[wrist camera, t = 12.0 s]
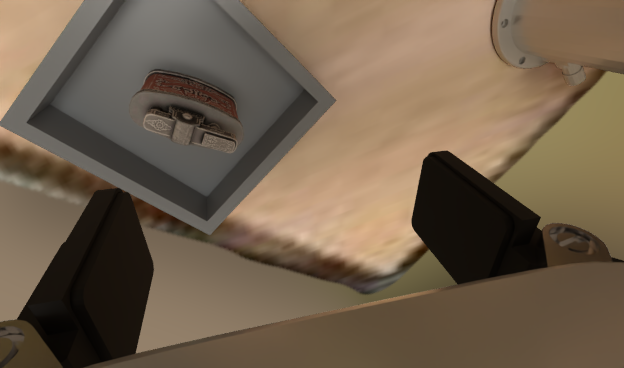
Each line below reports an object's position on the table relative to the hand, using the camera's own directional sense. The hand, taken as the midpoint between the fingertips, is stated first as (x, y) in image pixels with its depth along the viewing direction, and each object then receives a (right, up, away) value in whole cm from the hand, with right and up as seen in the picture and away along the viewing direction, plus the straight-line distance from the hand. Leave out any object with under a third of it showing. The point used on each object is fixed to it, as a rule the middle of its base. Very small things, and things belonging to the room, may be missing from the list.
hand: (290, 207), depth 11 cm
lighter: (-10, +9, +20) cm, 24 cm away
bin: (-11, +9, +20) cm, 25 cm away
